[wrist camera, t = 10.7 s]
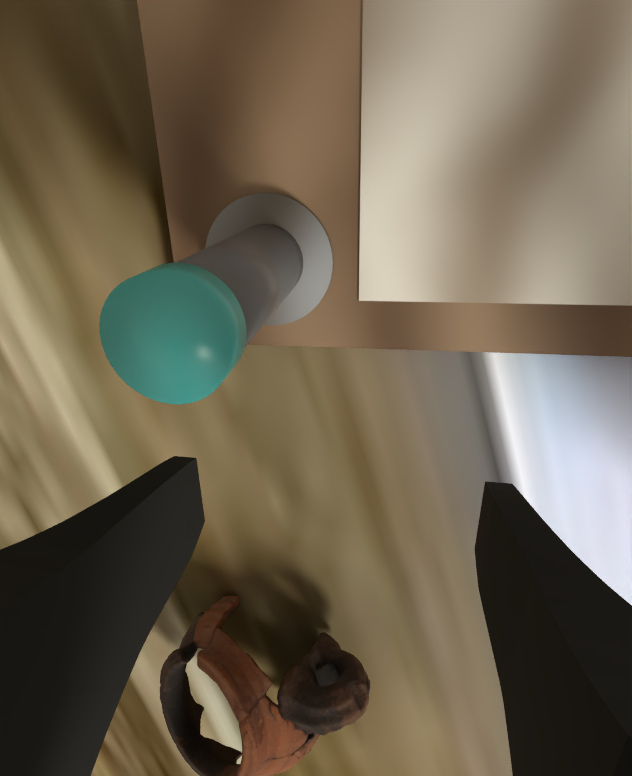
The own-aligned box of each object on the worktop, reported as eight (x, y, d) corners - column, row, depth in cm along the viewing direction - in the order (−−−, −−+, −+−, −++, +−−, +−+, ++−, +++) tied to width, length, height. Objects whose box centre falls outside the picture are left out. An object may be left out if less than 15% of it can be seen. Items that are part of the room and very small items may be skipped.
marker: (304, 220, 18) (223, 274, 10) (307, 301, 19) (236, 407, 11) (226, 220, 19) (86, 272, 10) (233, 299, 20) (113, 400, 12)
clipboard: (785, -130, 14) (824, -159, 12) (652, 348, 20) (669, 361, 18) (140, -66, 17) (118, -84, 15) (193, 334, 22) (181, 345, 21)
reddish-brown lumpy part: (278, 709, 34) (182, 806, 27) (230, 575, 35) (127, 637, 29) (429, 711, 27) (348, 842, 20) (363, 544, 28) (266, 616, 22)
